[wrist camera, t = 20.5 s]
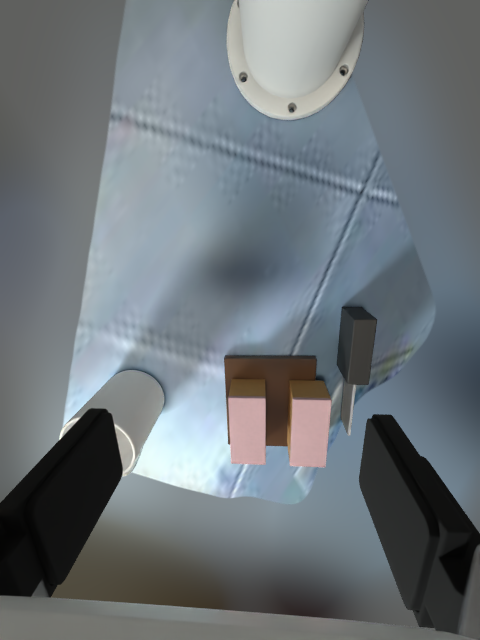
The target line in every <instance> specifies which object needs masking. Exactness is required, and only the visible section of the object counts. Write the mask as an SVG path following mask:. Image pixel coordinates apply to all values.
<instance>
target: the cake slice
mask: <svg viewBox="0 0 480 640" xmlns="http://www.w3.org/2000/svg"><path fill="white" fill-rule="evenodd" d="M331 403H332V400H331V398H330V395H329V393H328V390H327V388H326V385H325V383H324V381H309V380H290V381H289V404H288V431H287V444H288V453H289V461H290V466H304V467H325V465H326V456H327V445H328V435H329V424H330V413H331Z"/></svg>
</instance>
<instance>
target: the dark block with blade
mask: <svg viewBox="0 0 480 640" xmlns="http://www.w3.org/2000/svg"><path fill="white" fill-rule="evenodd" d="M376 324H377V319H376V318H375V317H373V316H372V315H371V314H370V313H368V312H367V311H366V310H365V309H364V308H362V307H342V313H341V324H340V335H339V346H338V358H337V366H338V368H339V370H340V371H341V373H342V375H343V377H344V379H345V381H344V390H343V400H342V410H341V420H342V422H343V425H344V427H345V430H346V432H347V434H348V435H350V433H351V424H352V415H353V407H354V398H355V390H356V385H368V384H369V377H370V369H371V362H372V354H373V347H374V339H375V332H376Z"/></svg>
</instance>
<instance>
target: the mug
mask: <svg viewBox="0 0 480 640" xmlns="http://www.w3.org/2000/svg"><path fill="white" fill-rule="evenodd" d="M163 406H164V393H163V390H162V388H161V386H160V384H159V383H158V382H157V381H156V380H155V379H154V378H153V377H152V376H150V375H148V374H147V373H144V372H141V371H137V370H127V371H122V372H120V373H118V374H116V375H114V376H113V377H112V378H111V379H110V380H109V381H108V382H107V383H106V384H105V385H104V386H103V387H102V388H101V389H100V390H99V391H98V392H97V393H96V394H95V395H94V396H93V397H92V398H91V399H90V400H89V401H88V402H87V403H86V404H85V405H84V406H83V407H82V408H81V409H80V410H79V411H78V412H77V413H76V414H75V415H74V416H73V417H72V418H71V419H70V420H69V421H68V422H67V423H66V424H65V426H64V427H63V429H62V430H61V433H60V439H61V438H62V437H63V436H64V435H65V434H66V433H67V431H68V430H69V429H70V428H71V427H72V426H73V425H74V424H75V423H76V422H77V421H78V420H79V419H80V418H81V417H82V416H83V414H84V413H85V412H86V411H87V410H88V409H91V408H102V409H107V410H108V412H109V413H111V414H112V416H113V421H114V426H115V431H116V436H117V441H118V446H119V451H120V456H121V461H122V466H123V474H122V476H127V475H128V474H130V473H131V472H132V471H133V469H134V468H135V466H136V464H137V461H138V459H139V457H140V454H141V451H142V448H143V445H144V443H145V441H146V440H147V438H148V436H149V434H150V432H151V430H152V428H153V426H154V425H155V423H156V421H157V419H158V417H159V415H160V413H161V411H162V409H163ZM60 439H59V440H60Z"/></svg>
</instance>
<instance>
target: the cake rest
mask: <svg viewBox="0 0 480 640" xmlns="http://www.w3.org/2000/svg"><path fill="white" fill-rule="evenodd" d="M228 406H229V428H230V449H231V463H232V464H259V465H265V464H266V391H265V379H232V381H231V386H230V391H229V396H228Z"/></svg>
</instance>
